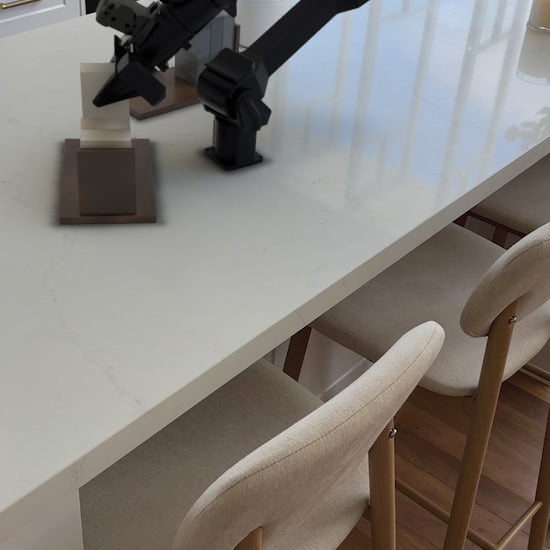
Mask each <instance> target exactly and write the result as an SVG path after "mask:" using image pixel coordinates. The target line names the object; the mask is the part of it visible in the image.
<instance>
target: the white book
mask: <svg viewBox="0 0 550 550" xmlns="http://www.w3.org/2000/svg"><path fill="white" fill-rule="evenodd" d="M114 71H115V63H109V62H80V64H79V76H80V77H79V78H80V80H79V81H80V93H81V94H80V95H81V111H82V113H81V114H82V118H130V119H131V117H130V113H129V99H126V100H123V101H119V102H116V103H113V104H109V105H106V106H103V107H99V108H98V107H96V106H95V105H94V104H93V103H92V101H93V99H94V98H95V96H96V95H97V94H98V92H99V91H100V90H101V88H102V87H103V86H104V84H105V83H106V82H107V80H108V79H109V78H110V77H111V75H112V74H113V73H114Z"/></svg>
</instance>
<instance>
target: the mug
mask: <svg viewBox="0 0 550 550" xmlns="http://www.w3.org/2000/svg"><path fill="white" fill-rule="evenodd" d="M281 1H282V0H237V16H236V17H235V23H236V24H239V25H240V43H239V46H241V47H244V48H246V49H247V48H248V47H249V46H250V45H251V44H253V43H254V42H255V41H256V40H257V39H258V38H259V37H260V36H261V35H262V34H264V33H265V32H266V31H267V30H268V29H269V28H270V27H271V26H272V25H273V24H274V23H276V22H277V21H278V20H279V19H280V15H281Z"/></svg>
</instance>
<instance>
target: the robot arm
mask: <svg viewBox="0 0 550 550" xmlns="http://www.w3.org/2000/svg"><path fill="white" fill-rule="evenodd" d="M159 1H160V2H161V3H160V2H159ZM159 1H157V2H155V1H154V2H152V1H151V3H150V4H148V6H145V5H144V4H141V3H139V2H138V1H136V0H99V2H98V4H97V7H96V9H95V22H96V23H97V24H99V25H100V26H102V27H105V28H109V29H113V30H115V31H117V32H119V33H122V36H118V35H117V34H113V55H112V57H111V59H110V61H109V62H108V63H115V71H114V73H113V74H112V75H111V77H110V78H109V79H108V80H107V82H106V83H105V84H104V86H103V87H102V88H101V90H100V91H99V92H98V94H97V95H96V96H95V98H94V99H93V101H92V103H93V104H94V105H95V106H96V107H98V108H99V107H103V106H106V105H109V104H113V103H116V102H119V101H123V100H126V99H130V98H135V97H139V96H142V97H143V98H144V99H145V100H146V101H147V102H148V103H149V104H150V105H151V106H153V107H156V106H157V105H158V104H159V103H160V102H161V101H162V100H163V99H165V98H166V85H165V78H164V75H162V74H161V73H160V72H159V70H161V71H162V72H163V73H164V72H165V71H166V70H167V69H168V68H170V65H169V62H170V61H171V60H172V59H173V58H175V55H176V54H177V53H178V52H179V51H180V50H181V49H182V48H184V49H185V50H186V51H188V50H189V49H190V48H191V47H192V42H191V40H192V39H193V38H194V37H195V36H196V35H197V34H198V33H199V32H200V31H201V30H203V29H204V28H205V27H206V26H207V25H208V24H209V23H210V22H211V21H212V20H213V19H214V18H215V17H216V16H217V15H219V14H220V13H221V12H222V11H223V10H224V11H225V12H227V13H228V14H229V15H230V16H231V17H233V18H234V17H236V16H237V0H159ZM370 1H371V0H299V1H297V2H296V3H295V4H294V5H293V6H292V7H290V9H289V10H287V11H286V12H285V13H284V14H283V15H282V16H281V17H279V20H278V21H277V22H276V23H274V24H273V25H272V26H271V27H270V28H269V29H268V30H267V31H266V32H265V33H264V34H262V35H261V36H260V37H259V38H258V39H257V40H256V41H255V42H254V43H253V44H251V45H250V46H249V47H248V48H247V47H246V49H244V50H242V51H239V52H236V51H234V50H232V49H230V48H228V47H226V48H224V49H222V50H221V51H220V52H219V53H218V54H217V55H216V57H215V58H214V59H212V60H211V61H209V62H207V63H205V64H204V66H206V68H205V69H204V70H203V71H202V72H201V73H200V75H199V77H198V83H197V96H198V99H199V100H200V101H201V102H200V103H202V107H203V110H204V111H205V112H207V113H209V114H211V115H213V118H214V119H213V121H212V123H213V124H212V126H213V127H212V146H208V147H204V149H203V153H204V154H205V155H206V156H208V157H209V158H210V159H211V160H213V161H214V162H216V163H217V164H218V165H219V166H220V167H222V168H223V169H224V170H226V171H231V170H235V169H239V168H243V167H246V166H249V165H250V166H251V165H254V164H257V163H261V162H263V161H264V156H263V155H262V154H260V153H259V152H258V151H257V150H256V148H257V135H258V131H261V129H262V127H264V126H267V125H268V124H269V121H270V118H271V115H272V112H273V111H272V109H271V108H270V107H269V106H268V105H267V104H266V103H265V102H264V101H263V99H264V98H265V95H266V91H267V87H268V84H269V80H270V78H271V76H273V75H274V74H275V73H276V72H277V71H278V70H279V69H280V68H282V66H283V65H285V64H286V63H287V62H288V60H289V59H291V58H292V57H293V56H294V55H295V54H296V53H297V52H298V51H299V50H301V49H302V47H304V46H305V45H306V44H307V43H309V41H310V40H311V39H312V38H313V37H314V36H316V35H317V34H318V33H319V32H320V31H321V30H322V29H323V28H324V27H325V26H326V25H327V24H328V23H330V22H331V21H332V20H333V19H334V18H335V17H336V16H337V15H340V14H343V13H347V12H350V11H353V10H357V9H360V8H361V7H363V6H364V5H365V4H367V3H369V2H370Z"/></svg>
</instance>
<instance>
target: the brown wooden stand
mask: <svg viewBox="0 0 550 550" xmlns="http://www.w3.org/2000/svg"><path fill="white" fill-rule="evenodd" d="M131 133H132V131H131V117H130V118H83V117H80V132H79V135H80V136H79V138H65V139H64V145H63V157H62V159H63V160H62V172H61V185H60V187H61V188H60V200H59V215H58V220H59V224H60V225H79V224H81V225H83V224H134V223H136V224H137V223H139V224H140V223H157V221H158V217H157V205H156V195H155V185H154V184H155V182H154V173H153V162H152V152H151V142H150V138H132V136H131V135H132V134H131Z"/></svg>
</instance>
